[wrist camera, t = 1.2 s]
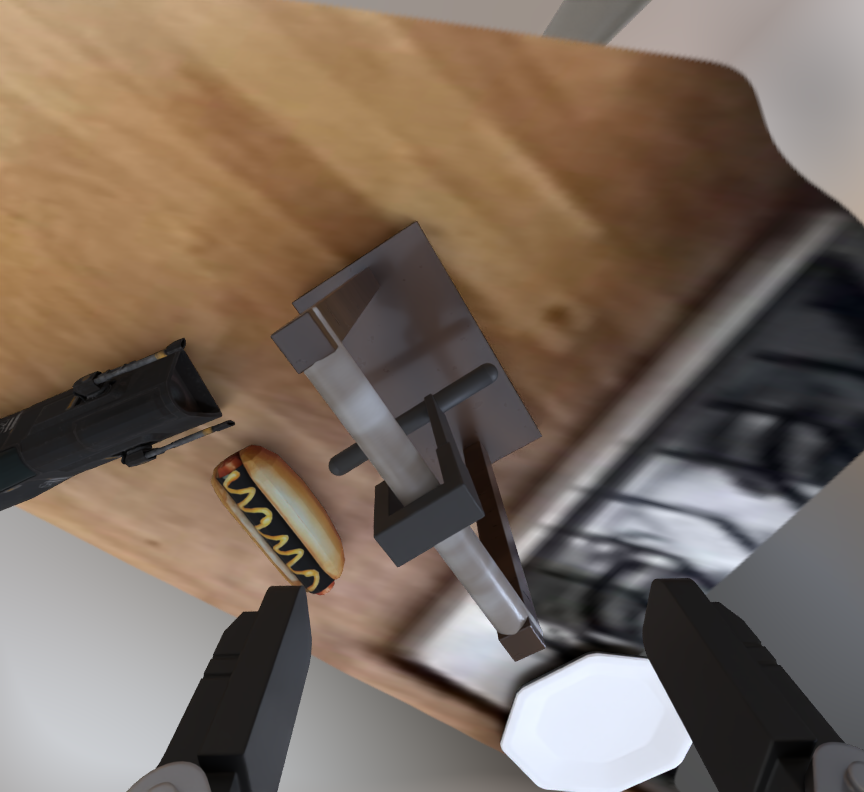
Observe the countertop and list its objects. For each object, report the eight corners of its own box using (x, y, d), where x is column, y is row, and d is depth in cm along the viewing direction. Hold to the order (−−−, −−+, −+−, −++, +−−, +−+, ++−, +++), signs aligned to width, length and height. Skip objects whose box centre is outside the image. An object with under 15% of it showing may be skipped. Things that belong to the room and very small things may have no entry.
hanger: (487, 354, 26) (559, 425, 15) (500, 376, 27) (579, 461, 16) (323, 455, 27) (283, 590, 16) (339, 476, 27) (310, 620, 17)
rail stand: (416, 221, 31) (411, 211, 13) (537, 428, 36) (648, 617, 19) (297, 299, 33) (149, 384, 15) (430, 487, 38) (438, 712, 20)
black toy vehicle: (256, 404, 36) (214, 450, 28) (-18, 513, 38) (-126, 584, 30) (210, 323, 34) (151, 349, 26) (-78, 443, 36) (-212, 500, 28)
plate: (562, 800, 52) (566, 816, 51) (466, 702, 47) (468, 717, 45) (723, 728, 49) (732, 743, 47) (641, 612, 43) (648, 625, 42)
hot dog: (273, 420, 36) (250, 450, 31) (363, 544, 40) (355, 586, 35) (221, 449, 36) (191, 482, 32) (315, 567, 40) (301, 612, 36)
